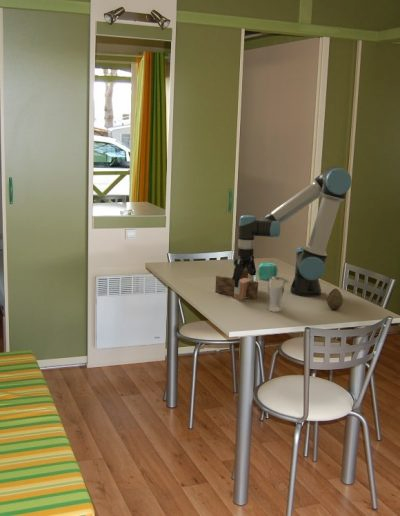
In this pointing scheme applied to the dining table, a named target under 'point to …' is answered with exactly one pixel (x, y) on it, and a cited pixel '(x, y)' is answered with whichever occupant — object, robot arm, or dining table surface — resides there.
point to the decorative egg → (334, 299)
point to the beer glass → (275, 293)
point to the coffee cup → (245, 271)
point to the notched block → (243, 288)
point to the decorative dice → (267, 271)
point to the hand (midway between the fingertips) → (243, 291)
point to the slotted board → (227, 287)
